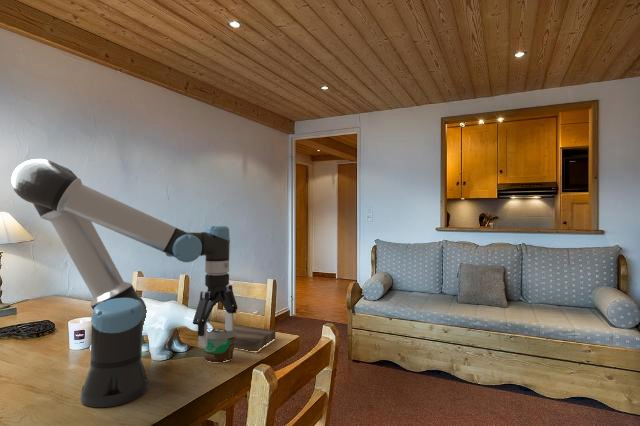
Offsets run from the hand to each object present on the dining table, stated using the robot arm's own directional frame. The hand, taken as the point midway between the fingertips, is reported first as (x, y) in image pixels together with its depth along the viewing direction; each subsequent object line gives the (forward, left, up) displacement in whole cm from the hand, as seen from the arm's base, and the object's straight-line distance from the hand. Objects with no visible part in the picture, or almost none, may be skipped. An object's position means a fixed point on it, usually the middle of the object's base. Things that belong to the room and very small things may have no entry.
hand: (216, 338), depth 116 cm
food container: (0, 0, -7) cm, 7 cm away
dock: (+18, 0, -7) cm, 19 cm away
